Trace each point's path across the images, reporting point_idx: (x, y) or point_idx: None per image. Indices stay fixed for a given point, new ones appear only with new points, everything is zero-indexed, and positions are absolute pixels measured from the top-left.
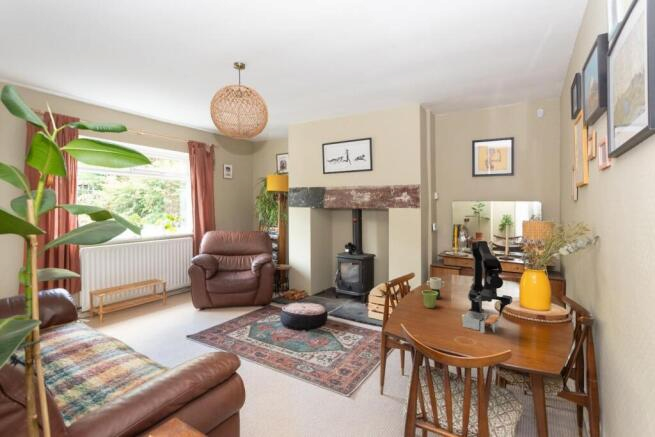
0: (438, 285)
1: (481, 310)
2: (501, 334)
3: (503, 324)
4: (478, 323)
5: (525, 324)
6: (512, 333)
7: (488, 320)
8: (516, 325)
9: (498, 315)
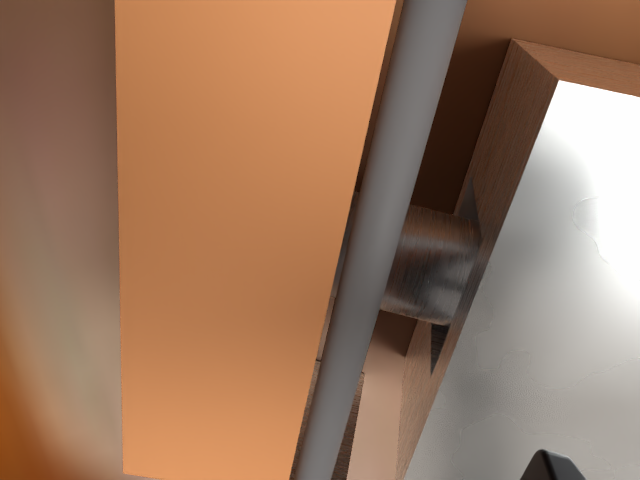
0: None
1: None
2: None
3: None
4: (560, 67)
5: (8, 472)
6: (21, 161)
7: (286, 112)
8: (65, 429)
9: (141, 470)
